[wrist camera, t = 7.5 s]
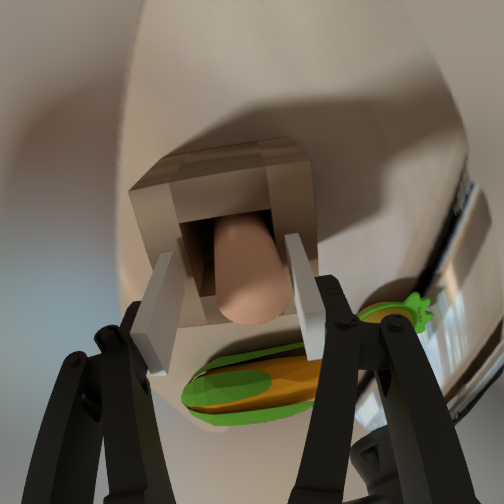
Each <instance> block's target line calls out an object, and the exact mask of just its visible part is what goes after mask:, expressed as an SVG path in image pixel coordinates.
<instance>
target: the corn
mask: <svg viewBox="0 0 504 504" xmlns="http://www.w3.org/2000/svg"><path fill="white" fill-rule="evenodd" d="M300 347H305V345H304V342H301V343H295V344H290V345H285V346H280V347H275V348H270V349H264V350H259V351H253V352H248V353H242V354H236V355H230V356H224V357H218V358H217V359H215V360H213V361H212V362H210V363H209V364H207V365H205V366H204V367H202V368H201V369H199V370H198V371H197V372H196V373H195V374H194V375H193V377H192V378H191V380H190V381H189V382H188V384H187V385H186V386H185V387H184V390H183V393H182V395H181V399H182V403H183V404H184V405H185V406H187V407H186V408H187V409H188V410H189V412H190V413H191V414H192V415H193V416H195V417H197V418H199V419H201V420H203V421H205V422H208V423H210V424H212V425H214V426H233V425H246V424H255V423H265V422H269V421H274V420H277V419H282V418H286V417H290V416H293V415H295V414H297V413H300V412H302V411H305V410H307V409H309V408H311V407H313V405H314V401H309V400H312V399H315V395H316V390H317V385H318V380H319V374H320V368H321V363H322V359H316V360H311V361H308V359H307V355H301V356H293V357H284V358H276V359H270V360H265V361H260V362H254V363H248V364H242V365H236V366H230V367H223V368H217V369H213V370H211V371H209V372H207V373H204V374H202V375H200V376H198V375H199V374H201V373H202V372H203V371H205V370H206V369H211V368H215V367H220V366H224V365H228V364H232V363H237V362H241V361H245V360H249V359H253V358H257V357H261V356H265V355H269V354H274V353H278V352H282V351H286V350H290V349H294V348H300ZM358 370H359V369H358ZM196 376H198V377H197V378H196V379H195V380H193V379H194V378H195V377H196ZM192 380H193V381H192ZM191 381H192V382H191ZM306 401H308V402H306Z"/></svg>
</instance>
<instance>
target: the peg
mask: <svg viewBox="0 0 504 504" xmlns="http://www.w3.org/2000/svg"><path fill="white" fill-rule="evenodd" d="M213 222H214V257H215V284H216V301H217V305H218V308H219V310H220V311H221V313H222V314H223V315H224V316H225V317H226V318H228V319H229V320H231V321H233V322H236V323H239V324H243V325H258V324H262V323H266V322H268V321H271V320H273V319H274V318H276V317H277V316H279V315H280V314H281V313H282V312H283V311H284V310H285V309H286V307H287V305H288V303H289V301H290V298H291V286H290V283H289V280H288V277H287V275H286V272H285V270H284V267H283V264H282V262H281V259H280V257H279V254H278V251H277V249H276V246H275V244H274V241H273V239H272V236H271V234H270V231H269V228H268V226H267V223H266V221H265V218H264V216H263V213H262V211H261V210H259V211H252V212H245V213H239V214H232V215H226V216H219V217H213Z"/></svg>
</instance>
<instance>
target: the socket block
mask: <svg viewBox="0 0 504 504" xmlns="http://www.w3.org/2000/svg"><path fill="white" fill-rule="evenodd" d="M128 193H129V197H130V200H131V203H132V207H133V210H134V214H135V217H136V220H137V223H138V227H139V230H140V233H141V236H142V239H143V242H144V246H145V249H146V252H147V255H148V258H149V261H150V264H151V266H152V269H153V271H154V269H155V266H156V264H157V261H158V259H159V256H160V254H161V253H167V252H174V256H175V259H176V262H177V266H178V269H179V272H180V275H181V279H182V282H183V285H184V288H185V294H184V299H183V303H182V308H181V312H180V317H179V321H178V326H177V328H185V327H195V326H204V325H213V324H222V323H230V322H233V321H231V320H229V319H228V318H226V317H225V316H224V315H223V314H222V313H221V311H220V310H219V308H218V305H217V301H216V284H215V257H214V239H212V240H209V237H208V233H207V228H206V224H205V219H207V218H213V217H219V216H226V215H232V214H239V213H245V212H252V211H259V210H266V209H267V210H268V217H269V225H270V234H271V236H272V239H273V241H274V244H275V246H276V249H277V251H278V254H279V257H280V259H281V262H282V264H283V267H284V270H285V272H286V275H287V277H288V280H289V283H290V279H289V272H288V263H287V253H286V244H285V235H288V234H295V233H298V234H299V236H300V239H301V242H302V245H303V247H304V250H305V253H306V256H307V258H308V261H309V264H310V267H311V270H312V272H313V275H314V277H318V276H319V270H318V249H317V231H316V215H315V201H314V188H313V176H312V165H311V160H310V159H309V158H308V157H307V156H306V155H305V153H304V152H303V151H302V150H301V149H300V148H299V147H298V146H297V145H296V144H295V143H294V142H293V141H292V140H291V139H290V138H289V137H286V138H278V139H270V140H263V141H256V142H249V143H242V144H236V145H230V146H224V147H218V148H212V149H207V150H201V151H196V152H191V153H186V154H181V155H176V156H171V157H166V158H162V159H160V160H159V161H158V162H157V163H156V164H155V165H154V166H153V167H152V168H151V169H150V170H149V171H148V172H147V173H146V174H145V175H144V176H143V177H142V178H141V179H140V180H139V181H138V182H137V183H136V184H135V185H134V186H133V187H132V188H131V189H130V190H129V191H128ZM290 286H291V283H290ZM296 313H297V309H296V305H295V300H294V296H293V292H292V288H291V298H290V301H289V303H288V305H287V307H286V309H285V310H284V311H283V312H282V313H281V314H280V315H279V316H283V315H289V314H296Z"/></svg>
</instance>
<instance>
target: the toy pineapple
mask: <svg viewBox="0 0 504 504" xmlns="http://www.w3.org/2000/svg"><path fill="white" fill-rule="evenodd" d="M430 303H431V299H430V298H429V297H423V298H420V295H419V293H418V292H413V293H412V294H411V295H410V296H409V297H408V298H407V299H406V300H405V301H404V302H380V303H376V304H373V305H370V306H368V307H366V308H365V309H363V310H361V311H360V312H359V313H358V314H357V316H358V317H359V319H360V320H361V321H364V322H370V323H380V322H381V320H382V318H384V317H385V316H386V315H390V314H400V315H404V316H405V317H407V318H408V319H409V320H410V321H411V323H412V325H413V327H414V329H415V332H416V334H418V333H422V332H423V331H425V324H426V323H427V322H428V321H429V320H430V319H431V318H432V317H433V314H432V313H431V312H429V311H426V308H427V307H428V306H429V305H430Z"/></svg>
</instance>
